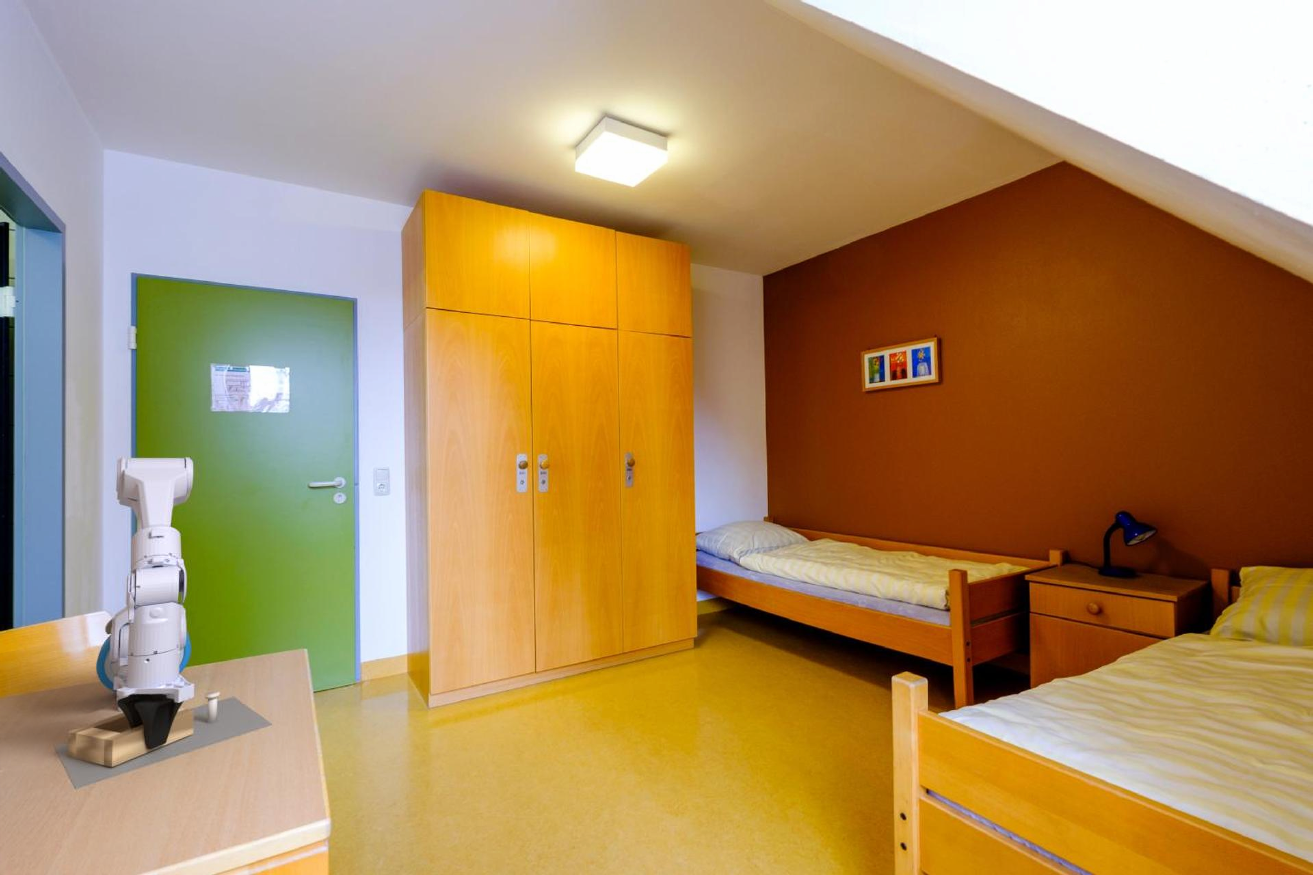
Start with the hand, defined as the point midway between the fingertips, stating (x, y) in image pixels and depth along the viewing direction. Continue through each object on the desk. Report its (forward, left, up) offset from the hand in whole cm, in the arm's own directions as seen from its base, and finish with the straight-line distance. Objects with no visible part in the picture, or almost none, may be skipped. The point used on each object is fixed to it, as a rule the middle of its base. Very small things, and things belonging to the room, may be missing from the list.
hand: (151, 744), depth 81 cm
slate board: (-4, +3, -2) cm, 5 cm away
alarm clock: (-34, +6, -2) cm, 34 cm away
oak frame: (-4, -1, -1) cm, 4 cm away
